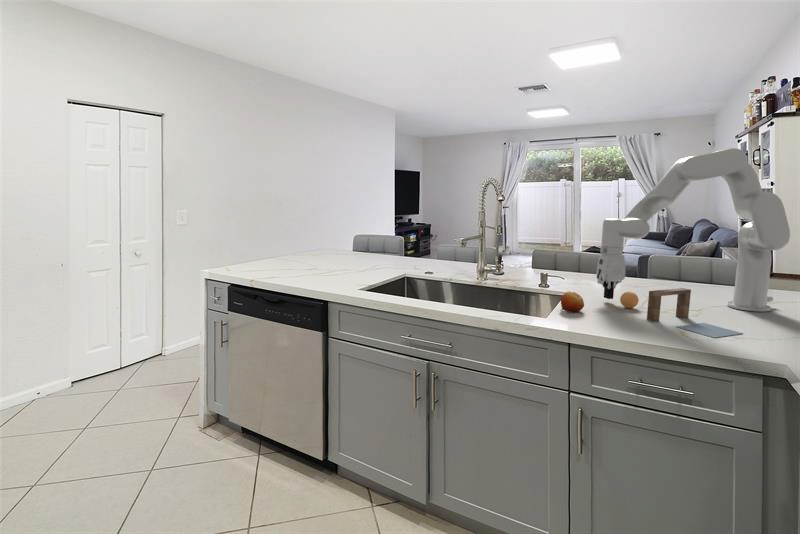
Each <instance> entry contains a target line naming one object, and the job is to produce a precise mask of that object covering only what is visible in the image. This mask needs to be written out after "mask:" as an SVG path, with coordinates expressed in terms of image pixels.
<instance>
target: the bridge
mask: <svg viewBox="0 0 800 534" xmlns="http://www.w3.org/2000/svg"><path fill="white" fill-rule="evenodd" d="M691 293H692V290H691V289H690V288H686V287H684V288H683V287H679V288H670V289H669V288H666V289H659V290H658V289H657V290H649V291H648V299H647V300H648V301H647V313H646V320H647V321H649V322H652V323H658V322H660V316H661V315H660V314H661V303H662V297H665V296H666V297H667V296H676V295H677V298H676V299H677V301H676V310H675V317H677V316H678V317H677V318H680V317H681V319H688V318H689V314H690V303H691Z"/></svg>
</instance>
